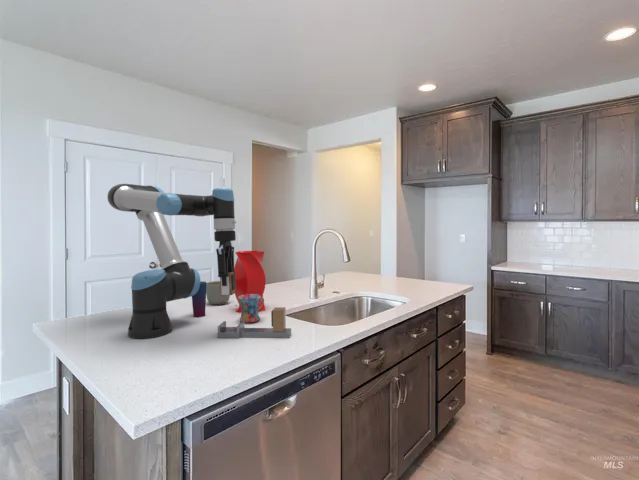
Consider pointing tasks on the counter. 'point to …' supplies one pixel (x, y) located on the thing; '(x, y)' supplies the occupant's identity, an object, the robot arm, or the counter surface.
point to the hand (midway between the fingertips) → (227, 293)
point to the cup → (199, 301)
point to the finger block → (231, 283)
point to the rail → (240, 331)
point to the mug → (250, 307)
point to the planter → (215, 294)
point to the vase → (249, 276)
